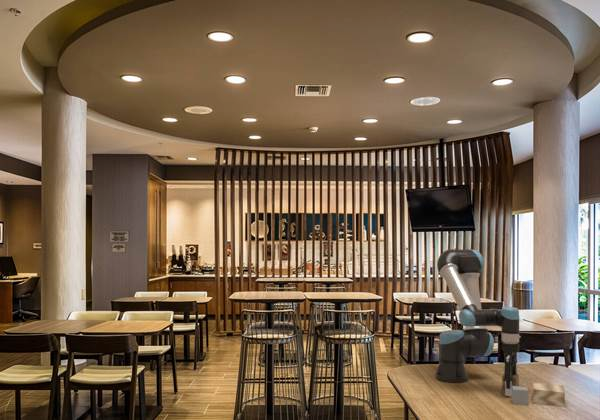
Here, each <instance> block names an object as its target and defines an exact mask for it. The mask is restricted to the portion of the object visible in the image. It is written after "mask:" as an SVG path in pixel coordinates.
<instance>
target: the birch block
mask: <svg viewBox="0 0 600 420" xmlns="http://www.w3.org/2000/svg"><path fill="white" fill-rule="evenodd" d="M532 386H533V389H532V391H533V398H532V399H533V400H532V401H533V404H536V405H537V404H538V405H545V406H554V407H555V406H556V407H563V408H565V407H566V401H565V400H566V399H565V397H566V395H565V394H566V393H565V387H564V385H559V384H558V385H557V384H549V383H541V382H540V383H539V382H533V385H532Z"/></svg>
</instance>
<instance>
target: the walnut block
mask: <svg viewBox="0 0 600 420" xmlns="http://www.w3.org/2000/svg"><path fill="white" fill-rule="evenodd" d="M507 378H509V377H507ZM503 379H504V374H503V375H502V376H501V383H502V384H501V388H502V389H501V395H504V396H505V381H503ZM511 381H512V386H520V384H519V383H520V376H519V374H518V375H512V377H511Z"/></svg>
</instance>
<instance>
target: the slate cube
mask: <svg viewBox="0 0 600 420" xmlns="http://www.w3.org/2000/svg"><path fill="white" fill-rule="evenodd" d="M529 391H530V390H529V389H528V387H527V386H520V385H519V386H512V397H511V401H512V404H513V405H522V406H529V405H530V403H529V401H530V400H529V399H530V398H529V396H530V395H529Z"/></svg>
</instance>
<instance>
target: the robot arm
mask: <svg viewBox="0 0 600 420" xmlns="http://www.w3.org/2000/svg"><path fill="white" fill-rule="evenodd" d="M484 262H485V261H484V257H483V256H482V253H480V252H479V250H477V249H476V250H475V249H470V248H468V249H467V248H466V249H465V248H464V249H452V248H450V249H447V250H444V251H443V252H442V253H440V255H439V256H438V259H437V262H436V263H437V264H436V266H437V267H436V268H437V272H438V274H439V275H440V277H441V278H442V279H444V281H445V283H446V285H447V287H448V289H449V291H450V293H451V294H452V297H453V299H454V301H455V303H456V305H457V307H458V308H459V313H458V319H459V323H460V325H461V326H463V327H464V328H463V330H461V329H448V330H444V331H442V332H440V333H439V339H438V344H439V346H438V347H439V349H438V351H439V353H438V354H439V356H438V357H439V359H438V360H439V362H438V365H437V369H436V371H435V379H436V380H438V381H441V382H446V383H454V384H455V383H465V382H467V381H468V380H469V379H468V373H467V370H466V367H465V364H464V362H465V359H464V358H476V357H477V358H482V357H483V358H484V357H488V356H490V355H491V354H492V352H493V351H494V347H495V339H494V336H493V334H492V333H490V332H488V328H487V327H500V328H501V331H500V333H501V338H500V339H501V351H502V352H505V353H506V354H505V356H504V371H503V372H504V374H503V375H504V379H503V381H505V395H504V396H506V397H511V398H512V381H511V377H512V375H519V374H518V369H517V353H519V352H520V339H521V338H522V337H521V335H520V317H521V316H520V310H519V308H517V307H512V306H503V307H502V308H501V309H498V308H489V309H482V303H481V302H482V301H481V295H480V294H481V293H480V287H479V286H480V284H479V277H480V276H481V273H482V271H483V270H484V265H485V263H484ZM507 377H509V378H507Z"/></svg>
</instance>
